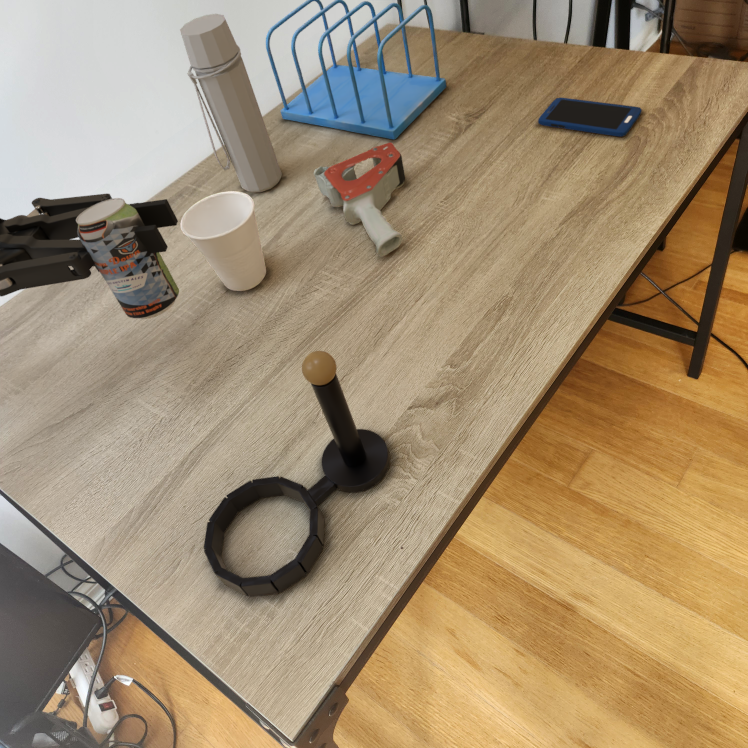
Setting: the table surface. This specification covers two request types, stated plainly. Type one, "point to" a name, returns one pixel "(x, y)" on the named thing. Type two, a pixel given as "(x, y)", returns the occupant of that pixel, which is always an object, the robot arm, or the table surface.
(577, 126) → the cell phone
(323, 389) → the can holder
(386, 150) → the tape dispenser
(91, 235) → the beverage can
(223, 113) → the water bottle
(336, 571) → the table surface
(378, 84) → the file sorter
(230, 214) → the cup
